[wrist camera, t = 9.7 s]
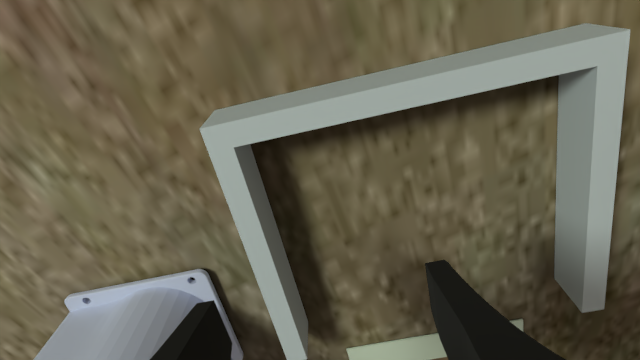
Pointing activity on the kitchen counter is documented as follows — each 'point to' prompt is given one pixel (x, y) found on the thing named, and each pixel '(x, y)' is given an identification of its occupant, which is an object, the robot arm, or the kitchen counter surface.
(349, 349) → the mat
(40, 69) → the kitchen counter surface
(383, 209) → the kitchen counter surface
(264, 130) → the u-shaped barrier
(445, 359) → the block
